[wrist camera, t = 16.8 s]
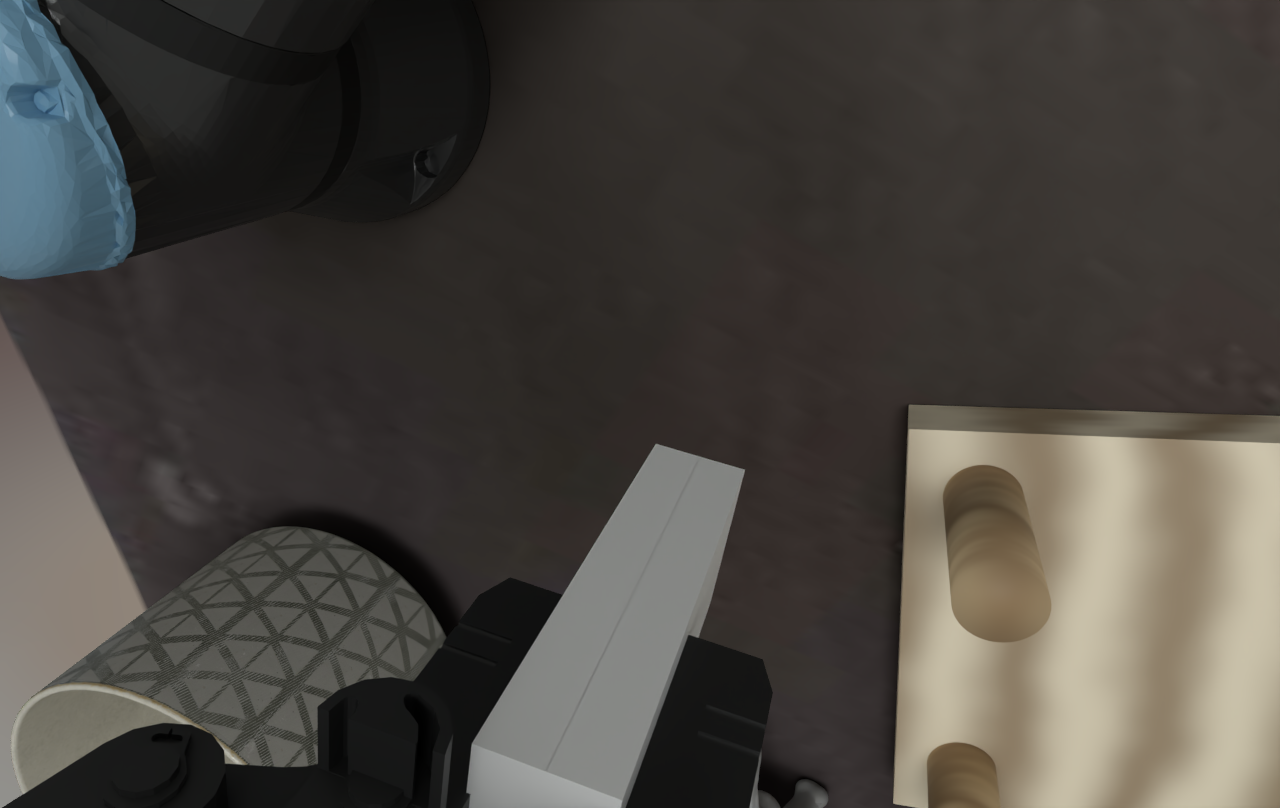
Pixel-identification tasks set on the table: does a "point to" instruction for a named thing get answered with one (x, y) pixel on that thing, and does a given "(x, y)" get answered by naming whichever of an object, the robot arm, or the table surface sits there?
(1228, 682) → the stool
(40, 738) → the planter
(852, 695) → the table surface
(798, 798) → the gray elephant figurine
